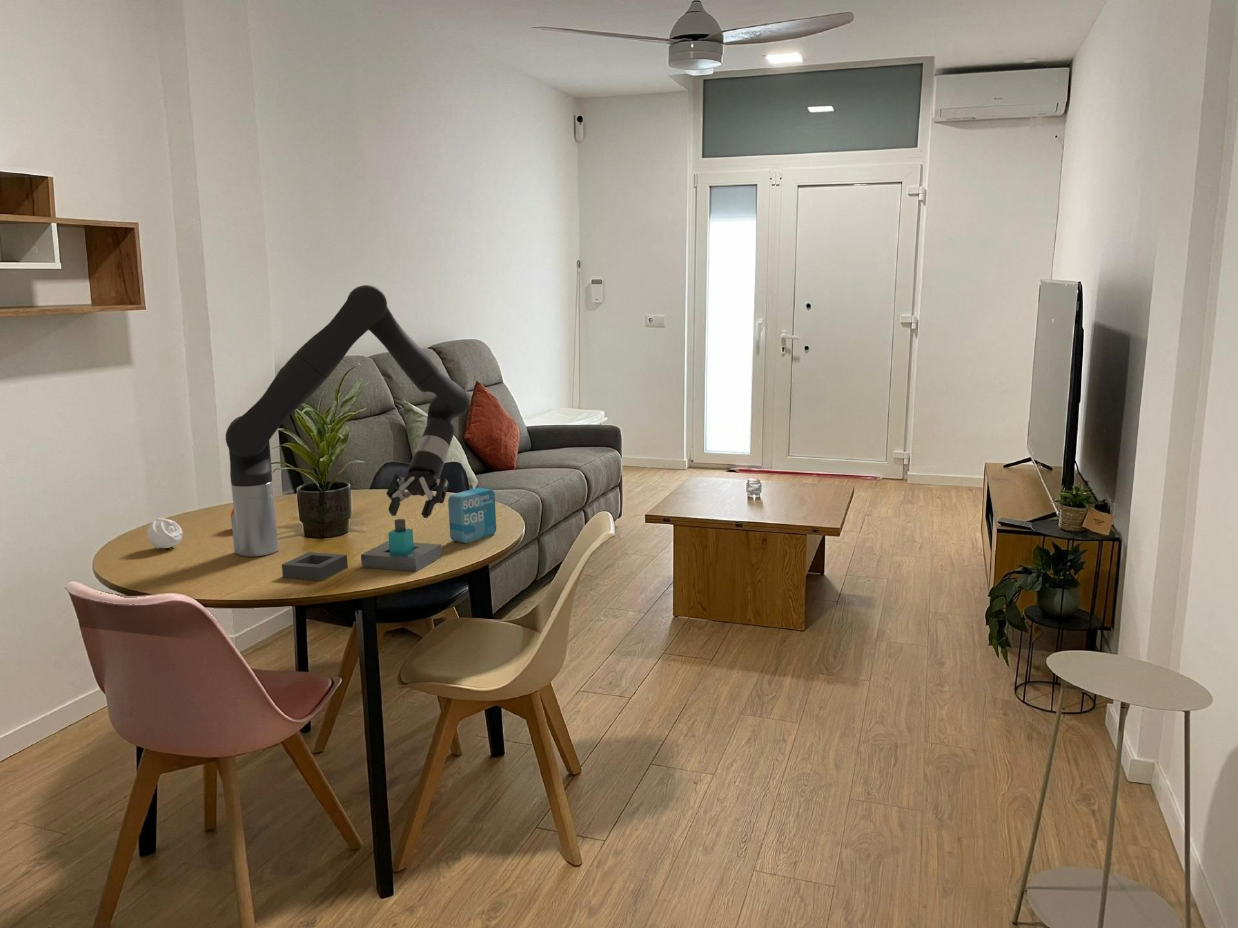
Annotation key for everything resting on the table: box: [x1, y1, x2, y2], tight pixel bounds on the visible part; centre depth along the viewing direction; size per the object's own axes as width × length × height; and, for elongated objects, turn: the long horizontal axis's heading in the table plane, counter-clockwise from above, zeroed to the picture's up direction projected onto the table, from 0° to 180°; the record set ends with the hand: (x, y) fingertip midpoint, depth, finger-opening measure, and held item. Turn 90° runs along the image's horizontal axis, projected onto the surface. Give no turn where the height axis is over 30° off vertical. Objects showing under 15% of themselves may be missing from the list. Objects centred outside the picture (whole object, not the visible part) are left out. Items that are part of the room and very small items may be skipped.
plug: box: [387, 518, 414, 554], centre depth 216 cm, size 4×4×10 cm
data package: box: [447, 487, 497, 544], centre depth 235 cm, size 12×4×12 cm, turn 143°
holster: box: [281, 551, 348, 582], centre depth 210 cm, size 10×10×3 cm
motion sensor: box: [146, 517, 183, 549], centre depth 231 cm, size 8×8×8 cm
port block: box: [360, 540, 443, 573], centre depth 216 cm, size 14×12×3 cm
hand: (408, 515), depth 218 cm, fingers open, 8 cm apart
